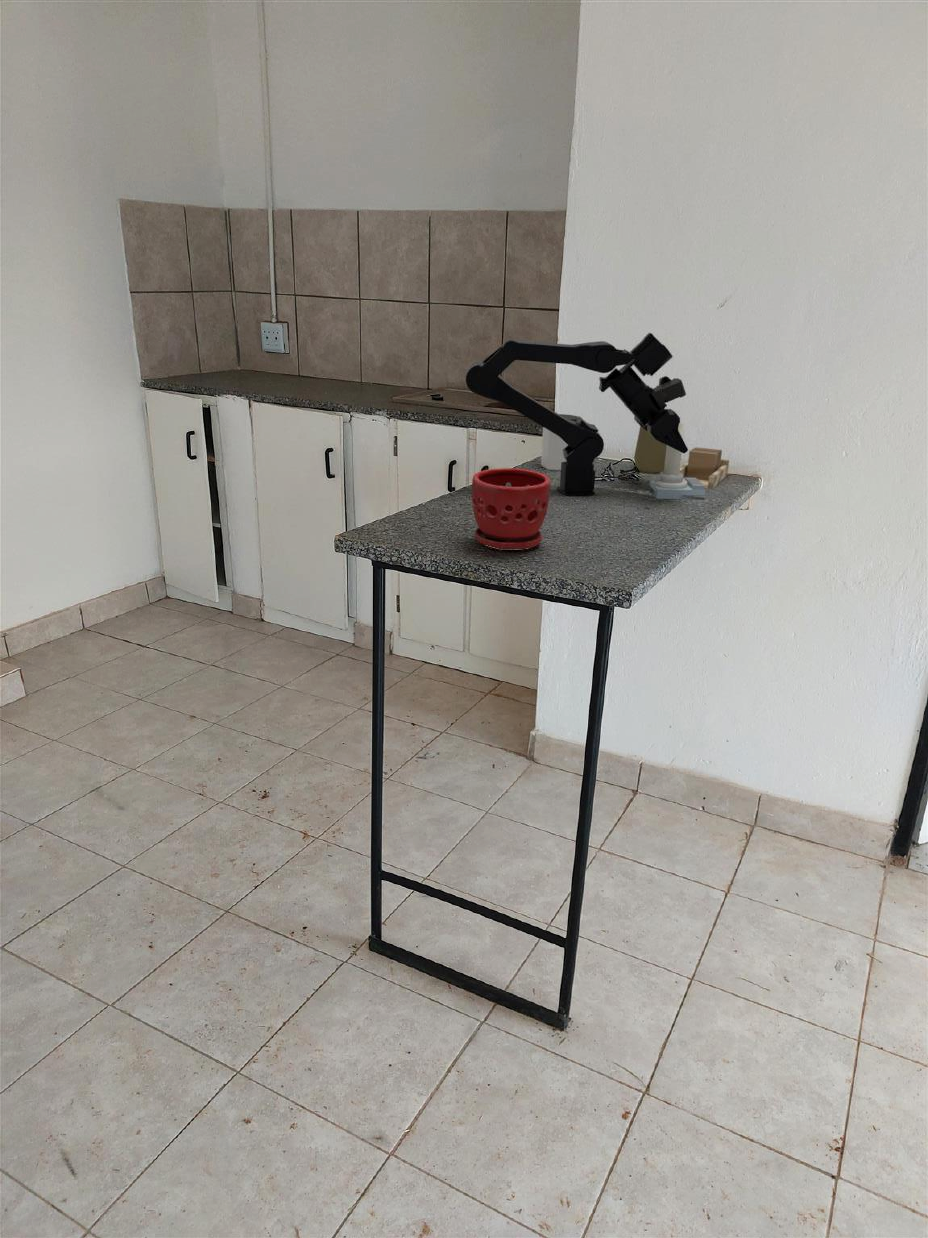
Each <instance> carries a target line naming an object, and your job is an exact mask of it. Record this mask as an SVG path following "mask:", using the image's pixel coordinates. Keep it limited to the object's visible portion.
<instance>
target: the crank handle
mask: <svg viewBox="0 0 928 1238" xmlns="http://www.w3.org/2000/svg"><path fill="white" fill-rule="evenodd" d="M678 431H679V433H680V435H681V437H682V439H683V440H684V435H685V434H684V433H685V423H683V422H680V423H679V427H678ZM682 454H683V453H682V452H680V451H678V450H676V449H674V448H672V447H670V446H668V445H667V447H666V457H665V466H664V471H663V472H660V473H658V474H657V473H653V475H652V478H653V480H652V481H661V482H665V483H682V482H683V474H682V473H680V472H679V471H680V467H681V463H682V462H681V461H682Z"/></svg>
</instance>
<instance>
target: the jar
mask: <svg viewBox="0 0 928 1238" xmlns="http://www.w3.org/2000/svg"><path fill="white" fill-rule="evenodd" d="M558 414H559V413H558ZM559 415H561V416H563V417H564V418H566V419H568V420H572V421H575V422H576V421H577V419H578V416H579V415H574V414H564V413H563V414H561V413H560V414H559ZM541 438H542V441H541V442H542V443H541V460H540V466H542V468H544V469H546V470H548V471H560V472H561V462H566V459H565V457H564V454H563V449H564V448H565V447H566V446H568V444H566V443H565V442H564V441H563V440H562V439H561V438H560V437H559V436H558V435H556V434H554V433H552V432H551V431H549V430H547V429H546V428H544V427H542V437H541Z"/></svg>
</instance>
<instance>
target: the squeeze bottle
mask: <svg viewBox="0 0 928 1238" xmlns="http://www.w3.org/2000/svg"><path fill="white" fill-rule="evenodd" d="M639 426H640V425H639ZM637 436H638V437H637V441H636V447H635V450H634V451H635V452H634V456H633V460H634V463H635V468H636V467H637V468H638V469H639V472H642V473H645V474H646V473H649V474H659V473H660V472H663V471H664V466H665V457H666V447H667V445H665V444H663V443H661V442H659V441H657V440H656V439H654V438H653V437H652V435H651V434H650V433H649V432H648V431H646V430H644V429H643V428H642V427H641V426H640V427H639V431H638V435H637ZM637 468H636V469H637Z"/></svg>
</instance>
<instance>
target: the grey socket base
mask: <svg viewBox="0 0 928 1238" xmlns="http://www.w3.org/2000/svg"><path fill="white" fill-rule="evenodd" d="M649 486H650V488H651V489H652V490H650V492H651V493H652V495H653V497H655V498H656V499H658V500H663V499H664V500H698V501H699V500H700V501H701V500H703V501H704V500H705V497H700V496H706V488H705V485H703V484H702V483H701V482H700V481H699V480H698V479H697V478H685V480H684V479H683V482H682V483H665V482H661V481H654V480H650V481H649Z"/></svg>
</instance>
